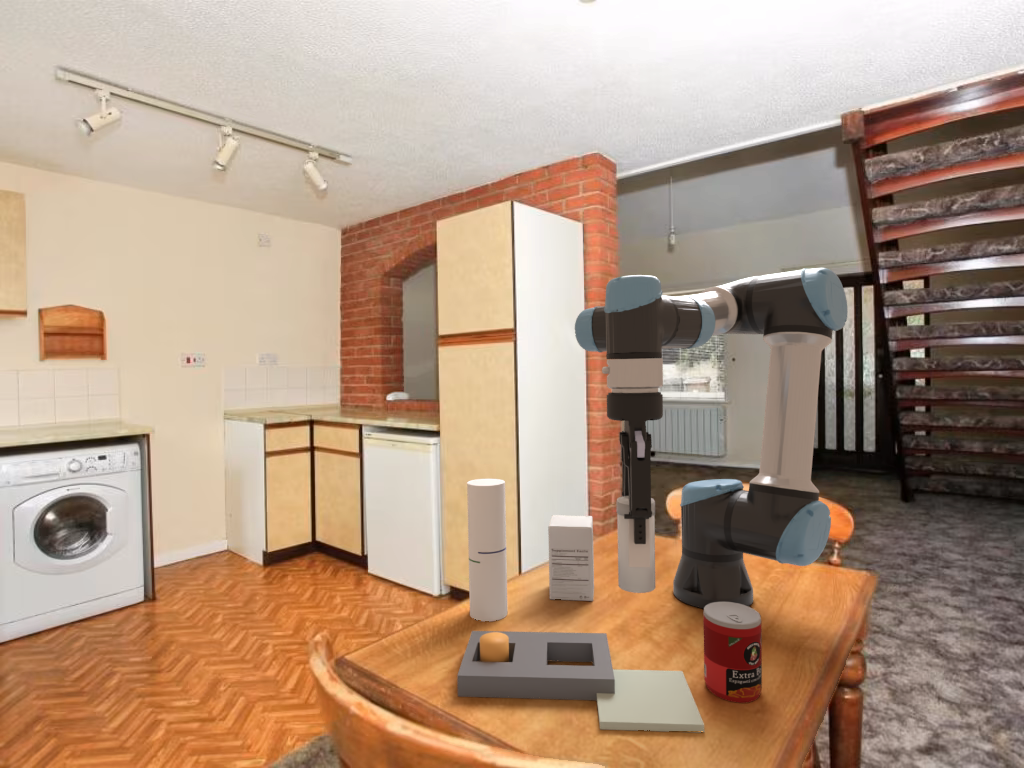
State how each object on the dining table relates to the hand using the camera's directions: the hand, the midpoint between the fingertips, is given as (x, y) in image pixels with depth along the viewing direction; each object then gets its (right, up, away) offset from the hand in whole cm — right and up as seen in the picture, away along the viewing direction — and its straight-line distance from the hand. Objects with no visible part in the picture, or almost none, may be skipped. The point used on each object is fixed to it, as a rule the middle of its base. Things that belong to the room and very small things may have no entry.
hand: (636, 558), depth 80 cm
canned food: (+14, -20, +3) cm, 24 cm away
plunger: (-20, -19, +9) cm, 29 cm away
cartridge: (0, -4, 0) cm, 4 cm away
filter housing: (-13, -20, +8) cm, 25 cm away
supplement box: (-5, -19, +40) cm, 44 cm away
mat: (+1, -20, 0) cm, 20 cm away
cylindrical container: (-22, -20, +30) cm, 42 cm away
